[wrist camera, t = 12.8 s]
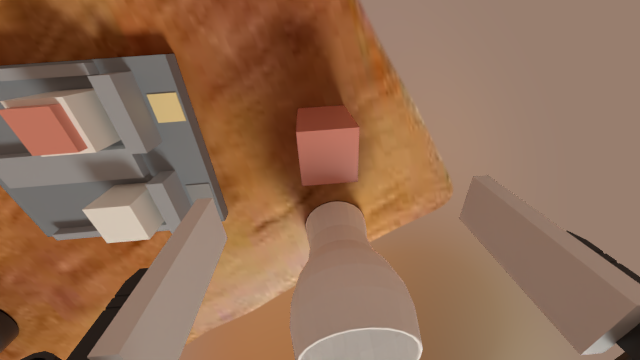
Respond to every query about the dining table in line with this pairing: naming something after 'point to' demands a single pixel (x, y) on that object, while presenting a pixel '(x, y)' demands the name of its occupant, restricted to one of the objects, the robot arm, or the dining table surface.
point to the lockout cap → (327, 145)
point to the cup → (350, 295)
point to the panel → (117, 159)
